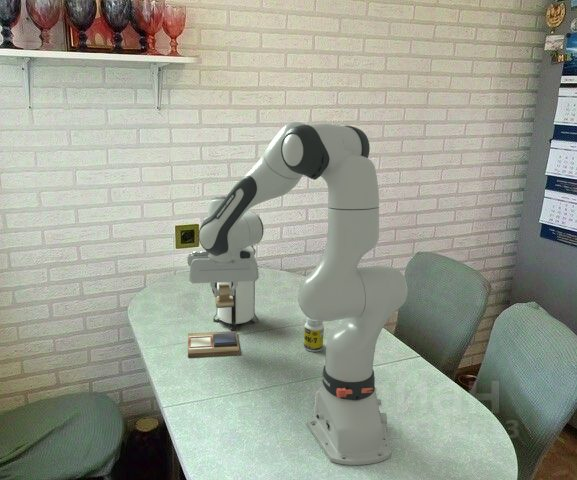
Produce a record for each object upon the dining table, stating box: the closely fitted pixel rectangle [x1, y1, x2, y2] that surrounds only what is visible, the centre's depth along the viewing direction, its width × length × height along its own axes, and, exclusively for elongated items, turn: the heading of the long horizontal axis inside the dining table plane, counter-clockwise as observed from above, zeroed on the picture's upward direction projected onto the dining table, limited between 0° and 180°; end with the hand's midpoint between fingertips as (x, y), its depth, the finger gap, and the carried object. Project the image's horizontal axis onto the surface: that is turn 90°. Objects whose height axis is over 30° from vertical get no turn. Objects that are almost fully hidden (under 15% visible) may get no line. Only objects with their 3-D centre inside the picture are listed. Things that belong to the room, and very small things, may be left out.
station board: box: [187, 330, 241, 358], centre depth 171 cm, size 13×15×2 cm
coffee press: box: [211, 245, 259, 331], centre depth 184 cm, size 17×16×30 cm
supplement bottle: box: [303, 316, 325, 353], centre depth 170 cm, size 6×6×10 cm
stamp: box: [214, 284, 234, 309], centre depth 167 cm, size 5×5×6 cm
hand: (224, 295), depth 167 cm, fingers closed on stamp, 3 cm apart
